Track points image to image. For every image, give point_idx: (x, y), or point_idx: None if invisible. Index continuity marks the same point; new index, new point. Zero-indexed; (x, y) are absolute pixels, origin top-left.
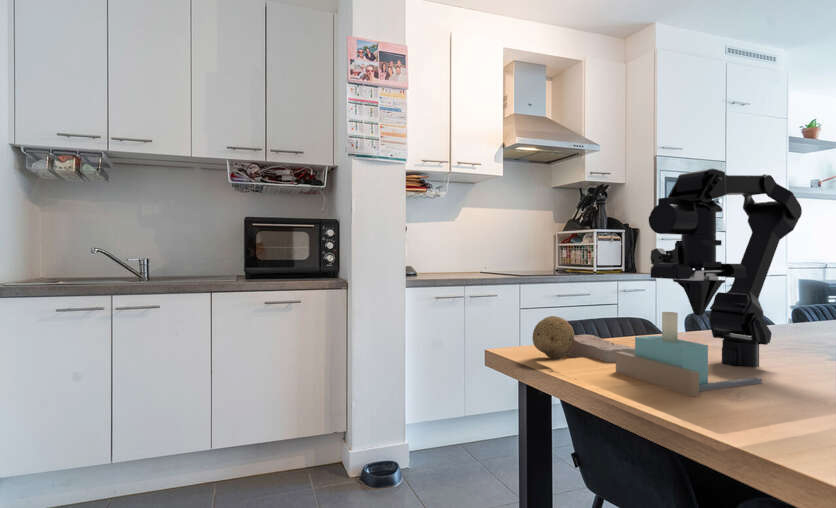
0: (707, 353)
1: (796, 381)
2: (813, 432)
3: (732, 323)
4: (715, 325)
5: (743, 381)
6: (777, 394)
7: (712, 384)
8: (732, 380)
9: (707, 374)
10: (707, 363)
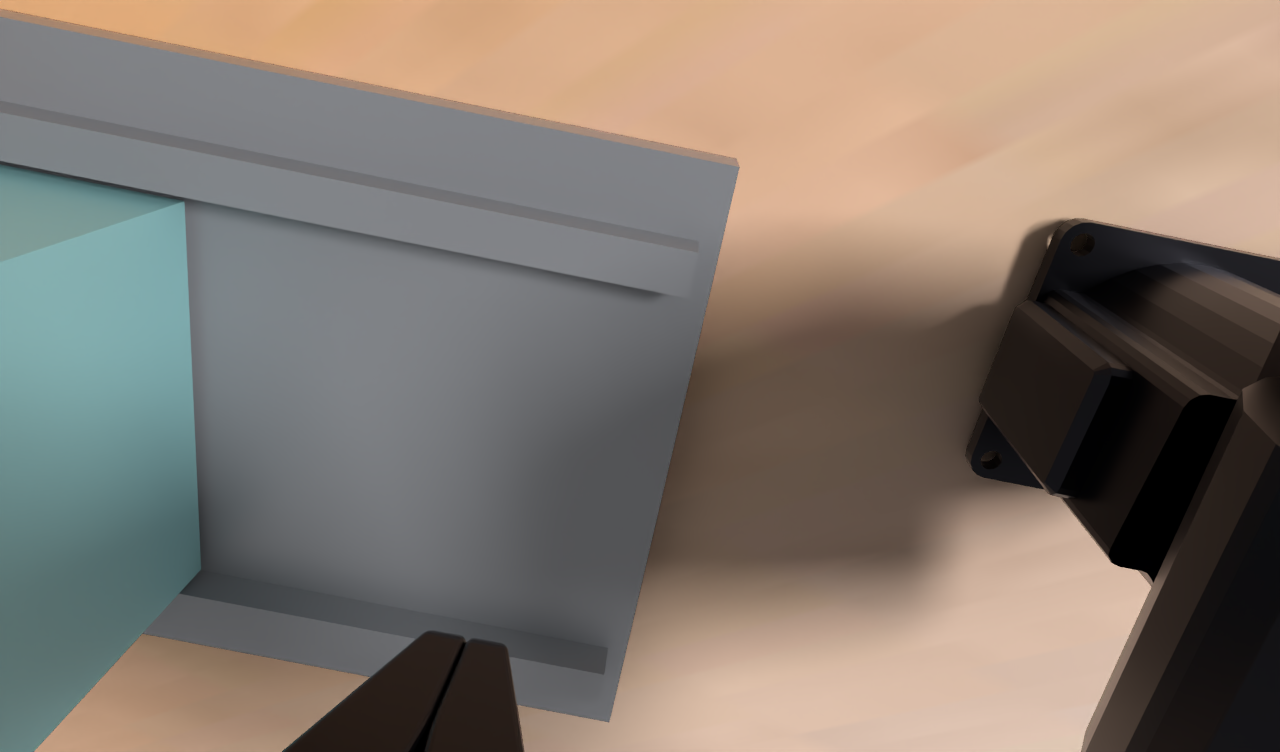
0: (37, 740)
1: (1065, 667)
2: None
3: (1132, 722)
4: (1216, 455)
5: None
6: (625, 697)
7: (173, 615)
8: (385, 635)
9: (147, 621)
10: (95, 678)
